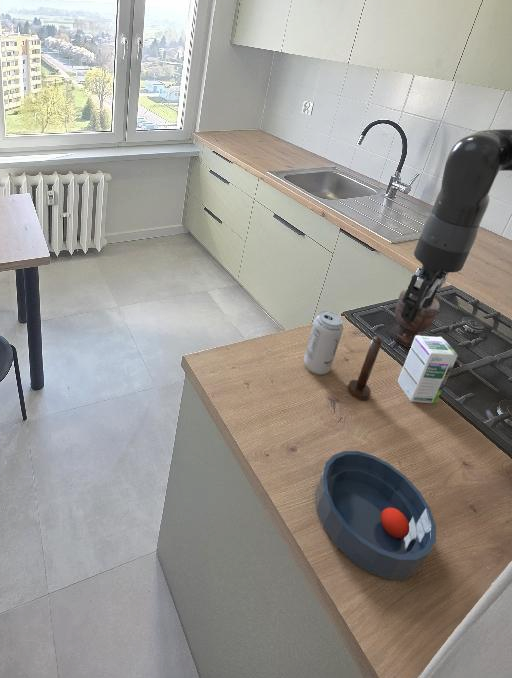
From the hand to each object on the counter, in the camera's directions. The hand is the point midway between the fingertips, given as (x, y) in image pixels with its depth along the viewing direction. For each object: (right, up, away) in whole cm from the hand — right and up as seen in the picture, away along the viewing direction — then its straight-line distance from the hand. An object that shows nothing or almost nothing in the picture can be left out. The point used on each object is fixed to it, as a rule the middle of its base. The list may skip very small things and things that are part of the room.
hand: (416, 311), depth 82 cm
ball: (-13, -31, -13) cm, 36 cm away
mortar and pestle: (+17, -17, +29) cm, 37 cm away
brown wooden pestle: (-4, -22, +14) cm, 27 cm away
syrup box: (+10, -23, +14) cm, 29 cm away
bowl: (-16, -33, -11) cm, 38 cm away
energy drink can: (-11, -19, +20) cm, 30 cm away
